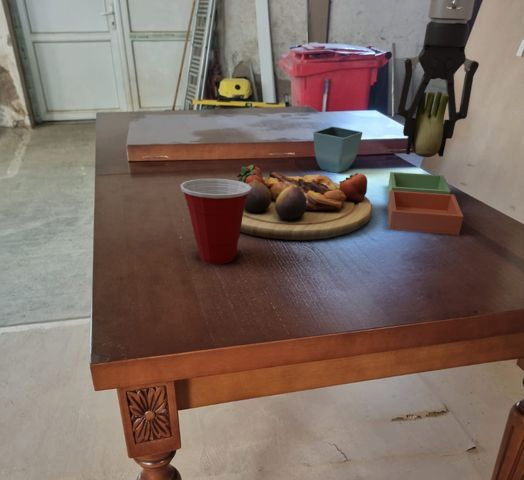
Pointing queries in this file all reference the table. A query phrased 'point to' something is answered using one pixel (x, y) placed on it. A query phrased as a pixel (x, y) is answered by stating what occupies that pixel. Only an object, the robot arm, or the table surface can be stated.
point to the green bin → (418, 183)
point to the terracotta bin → (424, 212)
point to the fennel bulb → (429, 125)
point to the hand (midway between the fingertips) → (423, 153)
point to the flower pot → (336, 148)
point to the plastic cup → (216, 216)
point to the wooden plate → (303, 205)
